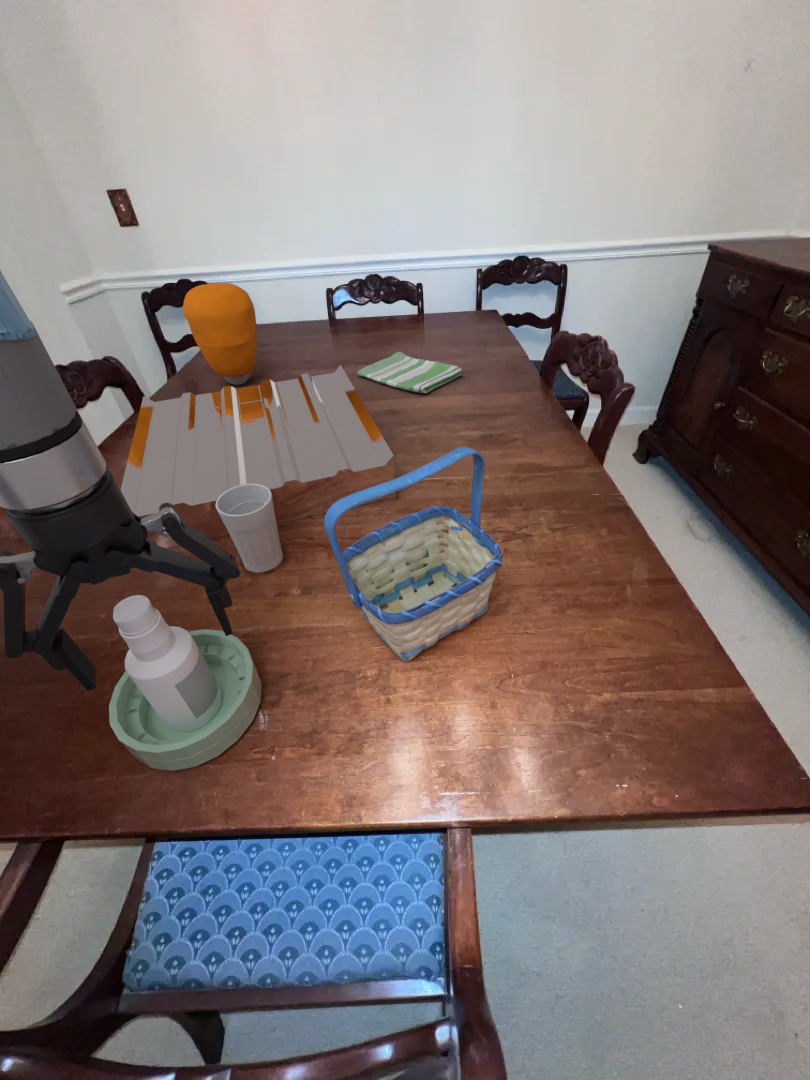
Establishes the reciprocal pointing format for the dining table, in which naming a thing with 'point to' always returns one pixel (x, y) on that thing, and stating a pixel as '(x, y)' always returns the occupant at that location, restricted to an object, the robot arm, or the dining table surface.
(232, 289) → the orange egg-shaped ornament
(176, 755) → the bowl
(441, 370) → the dish towel
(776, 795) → the dining table surface
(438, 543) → the basket
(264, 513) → the cup
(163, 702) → the white bottle
